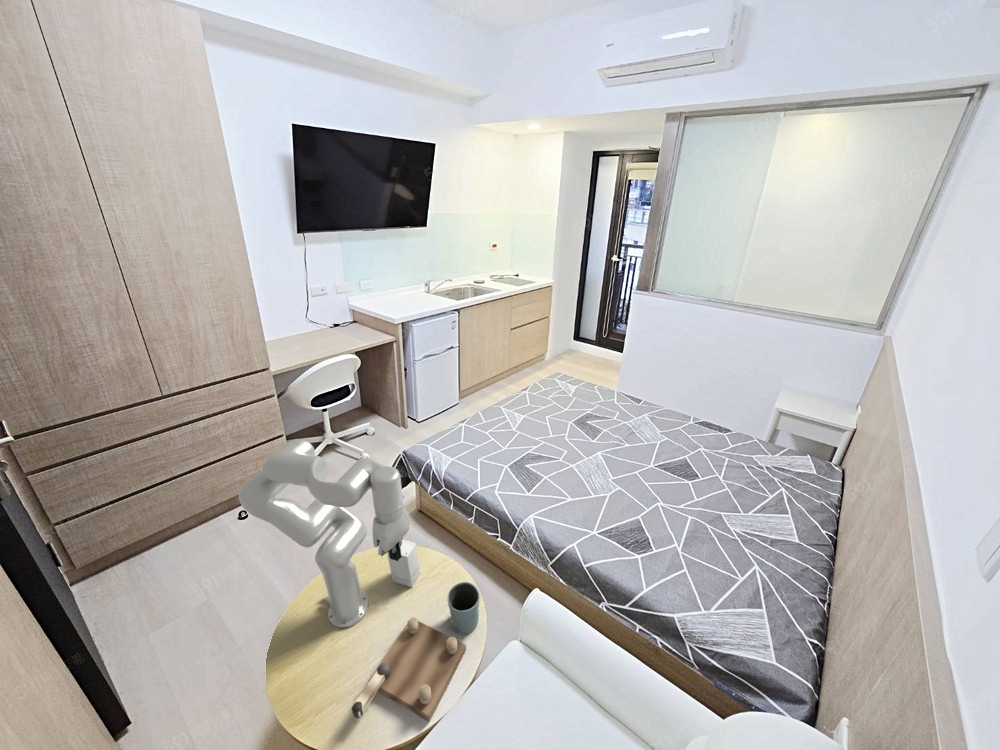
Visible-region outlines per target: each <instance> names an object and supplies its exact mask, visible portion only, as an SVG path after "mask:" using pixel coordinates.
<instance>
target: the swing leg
mask: <svg viewBox="0 0 1000 750" xmlns="http://www.w3.org/2000/svg"><path fill="white" fill-rule="evenodd" d="M380 663H381V662H380ZM380 663H379V664H380ZM379 664H378V665H377V667H378V668H376V669H377V671H376V673H375V674H374V676H373V677H372V679H371V680H370V682H369V681H368V683H367V684H366V685H365V687H364V689H363V691H362V692H361V693H360V695H359V697H357V699H356V701H355V702H354V704H353V705H352V706H351V709H350V710H351V713H352V716H353V717H354V719H361V717H362V716H363V715H364V713H365V711H366V710H367V709H368V707H369V705H370V704H371V702H372V701H373V699H374V697H375V696H376V694H377V693H378V692H379V691H378V690H379V689H380V687H381V686H382V684H383V683H384V681H385V680H386V679H387V678H388V677H389V675H390V669H389V665H388V664H387V663H381V664H380V665H379Z"/></svg>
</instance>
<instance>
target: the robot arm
mask: <svg viewBox="0 0 1000 750" xmlns="http://www.w3.org/2000/svg"><path fill="white" fill-rule="evenodd" d="M315 454H316V450H315V448H314V446H313V445H312V443H310V442H309V441H308V440H305V439H302V438H295V439H292V440H290V441H288V442H287V443H285V445H284V444H283V446H282V447H280V448H279V449H278V450H277V451H275V452H274V453H273V454H271V455H270V456H269V457H267V459H266V461H265V462H264V464H263V466H262V469H261V470H260V471H259V472H258V473H256V474H255V475H254V476H253V477H251V478H250V479H248V481H247V482H246V483H245V484H244V485H242V487H241V488H240V491H239V493H238V501H239V504H240V505H241V506H242V508H243V509H244V510H245V511H246V512H247V513H248V514H250V515H252V516H253V517H255V518H257V519H259V520H263V521H265V522H266V523H269V524H271V525H272V526H273V527H275V528H276V529H278V530H279V531H280V532H282V533H283V534H284V535H285V536H287V537H288V538H290V540H292V541H294V542H295V543H296V544H297V545H299V546H301V547H303V548H311V547H313V546H315V545H316V543H318V542H319V541H320V540H321V538H322V537H323V536H325V534H326V533H327V532H328V530H330V528H331V527H333V528H334V529H333V530H332V532H330V534H329V535H328V536H326V538H325V539H324V541H323V542H322V543H321V544H320V546H319V547H318V549H317V550H316V553H315V556H314V561H315V563H316V566H317V567H318V568H319V570H320V572H321V574H322V576H323V581H324V584H325V586H326V591H327V595H326V596H325V597H324V600H325V601H327V602H329V607H328V610H327V611H328V612H327V616H328V620H329V622H330V623H331V625H332V626H333V627H336V628H339V629H340V628H341V629H344V628H349V627H352V626H354V625H356V624H357V623H358V622H360V621H362V619H363V618H364V617H365V616H366V614H367V612H368V609H369V599H368V596H367V595H366V594H365V593H364V592H362V590H361V585H360V581H359V575H358V571H357V567H356V565H355V563H354V562H353V561H352V560H351V559H352V557H353V556H354V554H355V553H356V551H357V550H358V548H359V547H360V546H361V544H362V543H363V541H364V540H365V538H366V537H367V533H368V528H367V526H366V525H365V523H364V522H363V521H362V520H361V519H360V518H359V517H357V516H356V515H355V514H354V513H352V512H351V510H349V509H347V508H350V507H353V506H355V505H357V504H358V503H360V501H361V500H362V499H363V497H364V496H365V495H366V494H367V493H368V491H369V490H371V494H372V501H373V508H374V513H375V515H374V516H375V517H374V518H373V521H372V542H373V543H372V544H373V547H374V548H378V552H377V554H378V555H379V556H380V557H383V556H384V555H387V552H389V557H390V559H392V560H395V561H398V560H399V559H400V558H401V549H400V547H401V545H402V540H404V539H403V538H404V536H406V535H407V534H408V532H409V530H410V520H409V515H408V513H407V509H406V507H405V504H404V500H403V499H404V498H405V496H404V495H403V489H402V488H403V487H402V479H401V473H400V471H399V470H398V469H397V468H396V467H394V466H390V465H389V466H388V465H387V466H385V465H383V464H381V463H380V462H377V461H375V460H373V459H371V458H368V457H361V458H360V459H358V460H356V462H355V463H353V465H352V466H351V467H350V468H349V469H347V471H345V472H344V474H342V475H341V477H339V479H338V480H337V481H335V482H331V481H325V480H326V477H327V472H328V465H327V462H326V460H325V459H324V458H323V457H322V456H318V455H315ZM289 485H292V486H297V487H306V488H307V489H308V491H309V493H310V494H311V496H312V497H313V498H314V500H313V501H312V503H310V504H309V506H307V507H304V506H302V505H301V504H300V503H298V502H297V501H296V500H294V499H291V498H284V497H281V498H278V497H277V498H276V496H277V495H278V494H280V493H281V492H282V491H284V489H285V488H287V486H289Z"/></svg>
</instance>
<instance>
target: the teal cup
mask: <svg viewBox="0 0 1000 750" xmlns="http://www.w3.org/2000/svg"><path fill="white" fill-rule="evenodd" d="M446 599H447V604H448V607H449V614H450V617H451V624H452V627H453V629H454V630H455V631H456V632H457V633H458V632H459V634H462V633H464V634H463V635H465V633H466V634H469V632H470V633H472V632H473V631H475V629H476V628H477V627H478V624H479V616H480V614H479V613H480V610H479V607H480V591H479V589H478V588H477V587H476V585H475V584H473V583H471V582H466V581H463V582H459V583H456V584H455V585H452V587H451V588H450V590H449V591H448V593H447V598H446Z"/></svg>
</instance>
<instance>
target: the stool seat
mask: <svg viewBox="0 0 1000 750" xmlns="http://www.w3.org/2000/svg"><path fill="white" fill-rule="evenodd" d="M399 633H400V634H398V636H397V638H396V639H395V641H394V642H393V644H392V645H391V647H390V648H389V650H388V651H387V653H386V655H385V656H384V657H383V659H382V660H381V662H379V664H378V666H379V665H380V664H381V663H387V664H388V665H389V669H390V675H389V677H388V678H387V679H386V680H385V681H384V683H383V684H382V686H381V687H380V689H379V690H378V692H379V693H381V694H382V695H383V696H385V697H387V698H389V699H390V700H393V701H394V702H395V703H397V704H398V705H400V706H402V707H404V708H405V709H407V710H408V711H411V712H412V713H414V714H415V715H416V716H419V717H420V718H422V719H424V720H425V721H427V722H429V723H430V722H431V720H432V718H433V716H434V715H435V712H436V710H437V709H438V706H439V704H440V702H441V701H442V699H443V697H444V694H445V693H446V691H447V689H448V687H449V685H450V683H451V681H452V679H453V677H454V675H455V674H456V671H457V670H458V667H459V666H460V664H461V662H462V660H463V658H462V657H464V656H463V655H465V654H466V652H467V644H466V643H463V642H462V641H460V640H458V639H457V638H456V637H454V636H449V635H448V634H445V633H443V632H441V631H439V630H438V629H435V628H433V627H431V626H429V625H427V624H426V623H423V622H421V621H419V620H418V619H417V618H416V617H410V618H409V619H408V620H407V623H406V625H405V626H404V627H403V629H402V630H401V632H399ZM465 651H466V652H465ZM461 659H462V660H461ZM460 661H461V662H460ZM459 663H460V664H459ZM458 665H459V666H458ZM378 666H377V668H378ZM377 668H376V669H375V670H374V672H373V674H372V675H371V676H370V678H369V679H368V683H369V682H370V680H371V679H372V677H373V676H374V674H375V673H376V671H377Z"/></svg>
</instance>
